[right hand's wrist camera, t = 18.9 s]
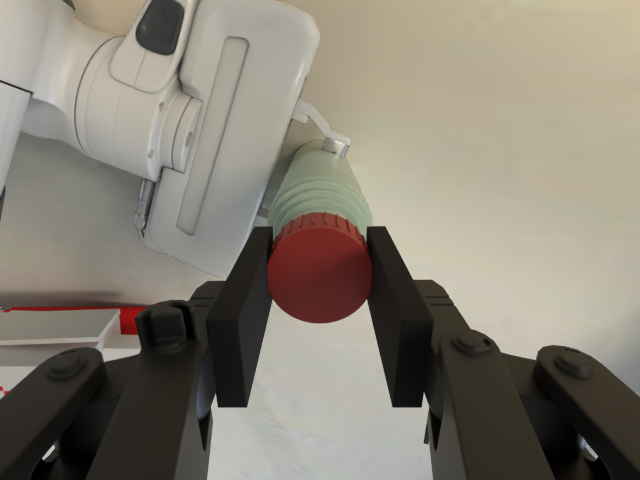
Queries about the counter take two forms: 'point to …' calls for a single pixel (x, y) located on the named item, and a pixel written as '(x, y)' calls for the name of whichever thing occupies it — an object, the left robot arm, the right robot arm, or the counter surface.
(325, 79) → the counter surface
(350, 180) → the bottle
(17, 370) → the toy
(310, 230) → the cap
